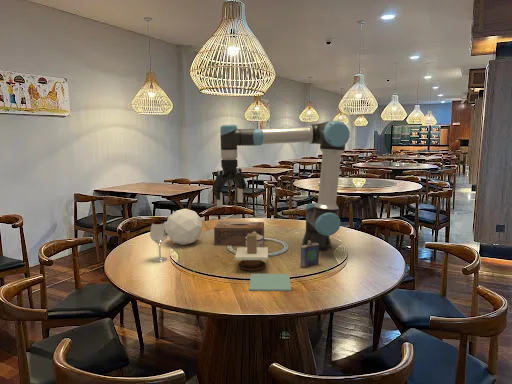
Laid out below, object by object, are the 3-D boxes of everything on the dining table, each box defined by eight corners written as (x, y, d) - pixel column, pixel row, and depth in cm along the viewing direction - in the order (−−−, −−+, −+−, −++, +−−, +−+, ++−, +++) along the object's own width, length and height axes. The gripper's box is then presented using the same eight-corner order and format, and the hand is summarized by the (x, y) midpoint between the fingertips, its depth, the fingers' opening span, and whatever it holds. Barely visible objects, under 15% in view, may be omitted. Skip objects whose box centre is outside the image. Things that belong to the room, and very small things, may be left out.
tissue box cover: (264, 239, 213) (264, 221, 212) (262, 246, 199) (262, 228, 198) (219, 238, 216) (219, 221, 214) (214, 245, 201) (214, 227, 200)
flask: (302, 268, 166) (303, 243, 164) (298, 266, 169) (298, 241, 167) (320, 264, 171) (320, 239, 169) (315, 262, 174) (316, 238, 172)
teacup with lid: (261, 258, 180) (261, 234, 178) (243, 257, 182) (242, 233, 180) (266, 250, 191) (266, 228, 189) (249, 249, 193) (249, 227, 191)
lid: (267, 249, 174) (267, 230, 172) (267, 260, 160) (267, 239, 158) (237, 249, 174) (237, 230, 173) (235, 260, 160) (234, 239, 159)
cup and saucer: (256, 274, 160) (256, 260, 159) (233, 269, 166) (233, 256, 165) (270, 266, 170) (270, 253, 169) (248, 261, 176) (248, 249, 175)
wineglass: (172, 257, 181) (170, 221, 178) (162, 263, 174) (161, 225, 171) (157, 256, 184) (156, 220, 181) (147, 261, 176) (145, 224, 173)
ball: (192, 252, 210) (212, 223, 213) (182, 250, 191) (204, 218, 193) (165, 234, 214) (185, 205, 217) (153, 230, 195) (175, 198, 197)
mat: (288, 275, 158) (288, 273, 158) (291, 290, 142) (291, 289, 142) (250, 275, 159) (250, 273, 159) (249, 290, 143) (249, 289, 143)
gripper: (241, 157, 184) (242, 199, 187) (203, 160, 165) (204, 207, 169) (253, 157, 179) (253, 201, 182) (214, 161, 161) (216, 209, 164)
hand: (230, 204), depth 176 cm, fingers open, 13 cm apart
